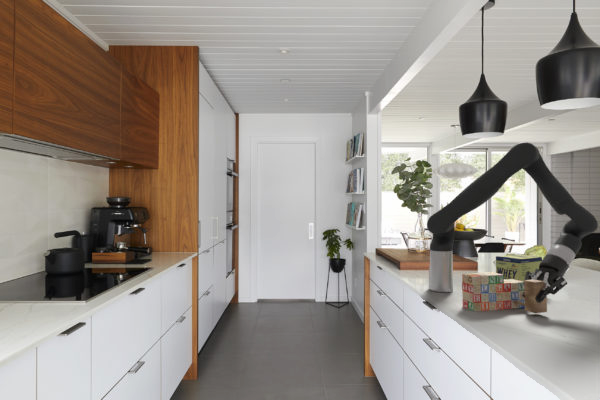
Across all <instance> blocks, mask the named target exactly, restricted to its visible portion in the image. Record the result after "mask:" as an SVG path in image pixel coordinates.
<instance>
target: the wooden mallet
mask: <svg viewBox="0 0 600 400" xmlns="http://www.w3.org/2000/svg"><path fill="white" fill-rule="evenodd" d="M543 285H544V281H541V280H524V290H525V303H523V302H519V301H514V303H516V304H519V305H523V306H525V308H524V311H526V312H530V313H533V314H541V313H548V308H547V307H548V299H547V298H548V295H547V296H546V297H545V299H544V300H543V301H542V302H541V303H538V302H537V301H536V300H535V297H536V296H537V295H538V293H539V292H540V290H542V287H543Z"/></svg>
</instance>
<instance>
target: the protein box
mask: <svg viewBox="0 0 600 400" xmlns="http://www.w3.org/2000/svg"><path fill="white" fill-rule="evenodd" d="M542 260H543V257H542V256H536V255H530V254H529V255H527V254H521V253H520V254H517V253H516V254H509V255H508V254H507V255H497V256H495V273H498V274H502V275H503V277H504V279H514V280H518V281H523V282H524V279H525V275H526V272H527V271H530V273H533V272H535V271H536V270H538V269H539V264H540V263H541V261H542Z"/></svg>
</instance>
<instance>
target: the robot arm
mask: <svg viewBox="0 0 600 400" xmlns="http://www.w3.org/2000/svg"><path fill="white" fill-rule="evenodd" d="M521 170H523V171H524V172H526V173H527V174H528V175H529V177H531V179H532V180H533V181H534V183H535V184H536V185H537V187H538V189H539V190H540V192H541V194H542V195H543V197H544V198H545V200H546V201H547V202H548V204H549V205H550V207H551V208H552V209H553V210H554V212H555V213H556V214H558V215H559V216H564V215H566V216H567V217H568V218H569V219H570V220H569V219H568V220H567V222H566V223H565V224H564V226H562V229H561V232H560V234H559V237H558V238H557V239H556V240H555V242H554V244H553V245H552V247H551V248H549V249H548V251H547V252H546V254H545V255H544V257H542V261H541V263H540V264H539V269H538V270H536V271H535V272H533V273H530V271H527V272H526V275H525V279H524V280H541V281H544V285H543V287H542V290H540V292H539V293H538V295H537V296H536V297H535V300H536V301H537V302H538V303H541V302H542V301H543V300H544V299H545V297H546V296H547V297H548V295H550V294H551V295H556V294H557V293H558V292H559V291H561V290H562V289H564V287H565V286H566V285H568V282H567V280H566V279H565V278H564V276H565V274H566V273H567V271H568V269H569V268H570V266H571V265H572V263H573V262H574V260H575V257H577V255H578V253H579V252H580V250H581V248H582V245H583V244H582V240H583V238H584V237H586V236H589V235H591V234H592V233H594V232H596V231H597V230H598V228H599V224H598V223H599V222H598V221H597V218H596V217H595V216H594V214H592V213H591V212H590V211H588V209H586V208H585V207H583V206H582V205H581V204H580V203H578V202H577V201H576V200H575V199H574V197H573V196H572V195H571V194H570V193H569V191H568V190H567V189H566V188H565V186H564V185H563V184H562V183H561V182H560V181H559V180H558V178H556V176H555V175H554V174H553V173H552V172H551V170H550V168H549V167H548V166H547V164H546V162H545V160H544V159H543V157H542V155H541V153H540V150H539V148H538V147H537V146H536V145H534V144H533V143H531V142H528V141H523V142H518V143H516V144H515V145H513V146H512V147H511V148H510V150H508V151H507V152H506V153H505V155H504V156H503V157H502V158H500V159H499V160H498V162H497V163H495V164H494V165H493V166H492V167H490V168H489V169H488V170H486V171H484V173H482V174H481V175H479V176H478V177H477V178H476V179H475V180H473V181H472V182H470V183H469V185H468V186H466V187H465V188H464V189H463V190H462V191H461V192H460V193H459V194H458V195H457V196H455V197H454V198H453V199H452V200H451V201H450V202H449V203H447V205H445V206H444V207H442V208H441V209H439V210H437V211H436V212H435V213H433V214H432V215H430V217H428V219H427V221H426V228H427V230H428V232H429V233H431V234H432V239H431V242H430V244H429V267H428V289H429V290H431V291H432V292H439V293H451V292H453V291H454V278H453V277H454V272H453V271H454V270H453V269H454V265H453V264H454V262H453V256H454V255H453V246H454V242H455V223H456V222H457V221H458V220H459V219H460V218H462V217H463V216H465V215H467V214H469V213H471V212H472V211H474V210H476V209H477V208H479V207H481V206H482V205H484V204H485V203H486V202H487V201H489V200H490V199H491V198H492V197H494V196H495V195H496V194H497V193H498V192H499V190H501V188H502V187H503V186H504V184H506V182H507V181H508V180H509V179H510V178H511V177H512V176H514V175H516V174H517V173H518V172H519V171H521ZM523 284H524V283H523ZM523 297H524V298H525V291H524V292H523Z"/></svg>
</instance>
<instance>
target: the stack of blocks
mask: <svg viewBox="0 0 600 400" xmlns="http://www.w3.org/2000/svg"><path fill="white" fill-rule="evenodd" d="M461 277H462V278H461V279H462V282H461V290H462V307H463V308H464V309H467V310H470V311H472V312H482V311H498V309H499V310H510V309H511V310H513V308H514V309H525V306H523V305H519V304H516V303H514V301H519V302H523V303H525V298H524V297H523V292H524V291H525V290H524V284H523V283H524V282H523V281H518V280H514V279H504V277H503V275H502V274H498V273H496V272H492V271H486V272H485V271H484V272H469V273H467V272H466V273H462V275H461Z"/></svg>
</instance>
